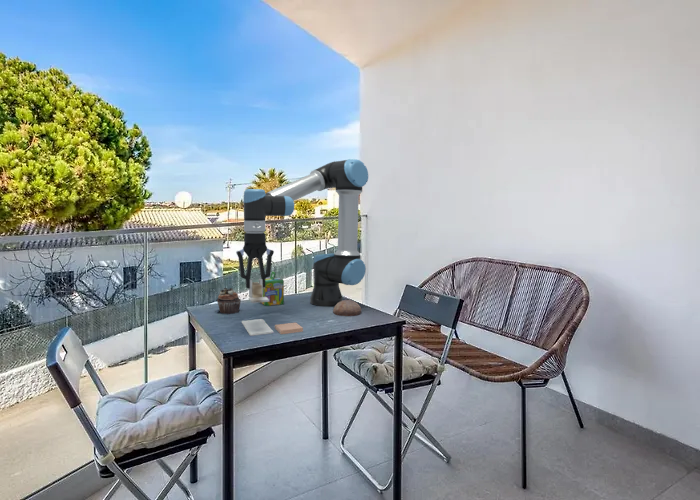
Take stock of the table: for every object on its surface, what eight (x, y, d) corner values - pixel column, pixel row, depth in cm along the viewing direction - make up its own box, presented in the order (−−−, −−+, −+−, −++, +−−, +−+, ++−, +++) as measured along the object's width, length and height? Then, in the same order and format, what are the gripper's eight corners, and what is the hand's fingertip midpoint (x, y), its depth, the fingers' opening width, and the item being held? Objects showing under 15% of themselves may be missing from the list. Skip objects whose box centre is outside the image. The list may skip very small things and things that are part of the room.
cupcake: (239, 314, 169) (239, 290, 168) (215, 314, 167) (214, 290, 166) (242, 308, 178) (241, 286, 177) (219, 309, 177) (218, 286, 176)
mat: (262, 320, 159) (262, 318, 159) (273, 333, 142) (273, 331, 142) (241, 322, 156) (241, 321, 156) (250, 335, 139) (250, 334, 139)
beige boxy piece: (261, 294, 154) (261, 281, 153) (269, 301, 142) (269, 287, 141) (245, 296, 151) (245, 282, 151) (251, 303, 139) (251, 288, 139)
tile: (295, 322, 152) (302, 327, 145) (295, 326, 152) (302, 332, 145) (274, 324, 148) (280, 330, 141) (274, 329, 148) (280, 335, 141)
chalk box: (259, 302, 190) (258, 271, 188) (278, 300, 194) (277, 269, 193) (264, 306, 182) (264, 273, 180) (284, 304, 186) (284, 272, 185)
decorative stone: (332, 310, 177) (332, 297, 176) (359, 309, 178) (359, 297, 178) (334, 317, 165) (334, 303, 165) (363, 316, 167) (363, 303, 166)
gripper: (233, 233, 139) (234, 300, 142) (279, 232, 146) (279, 297, 148) (230, 232, 146) (231, 296, 149) (274, 231, 153) (275, 293, 155)
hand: (255, 296), depth 148 cm, fingers closed on beige boxy piece, 3 cm apart
